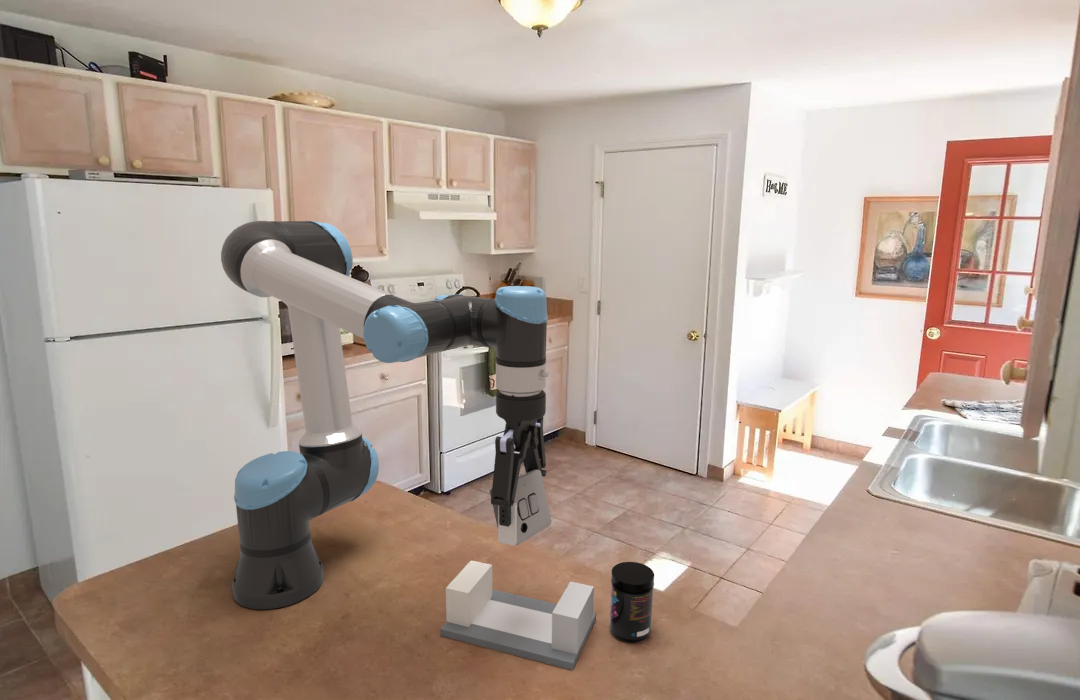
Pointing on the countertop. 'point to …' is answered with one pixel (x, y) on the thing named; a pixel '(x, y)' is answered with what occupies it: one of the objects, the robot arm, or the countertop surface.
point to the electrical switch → (530, 506)
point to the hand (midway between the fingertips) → (520, 527)
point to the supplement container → (631, 601)
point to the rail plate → (518, 618)
